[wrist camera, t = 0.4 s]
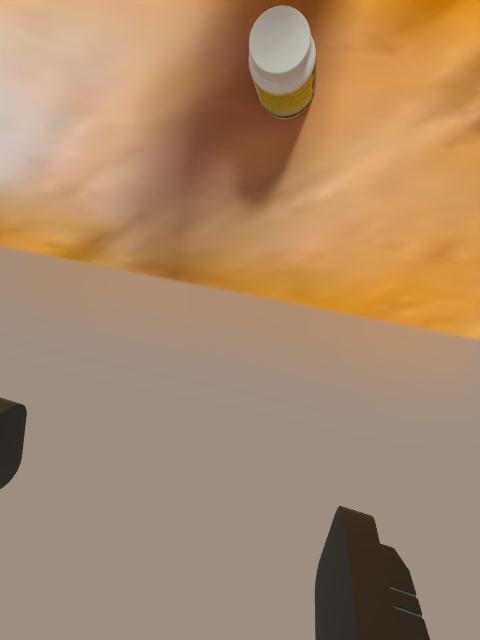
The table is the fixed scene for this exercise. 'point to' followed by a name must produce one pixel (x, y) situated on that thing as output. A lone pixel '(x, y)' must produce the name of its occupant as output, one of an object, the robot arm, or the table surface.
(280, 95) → the supplement bottle
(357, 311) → the table surface
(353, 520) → the robot arm
